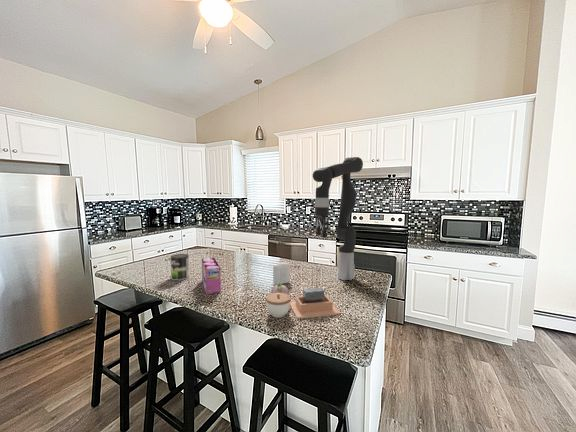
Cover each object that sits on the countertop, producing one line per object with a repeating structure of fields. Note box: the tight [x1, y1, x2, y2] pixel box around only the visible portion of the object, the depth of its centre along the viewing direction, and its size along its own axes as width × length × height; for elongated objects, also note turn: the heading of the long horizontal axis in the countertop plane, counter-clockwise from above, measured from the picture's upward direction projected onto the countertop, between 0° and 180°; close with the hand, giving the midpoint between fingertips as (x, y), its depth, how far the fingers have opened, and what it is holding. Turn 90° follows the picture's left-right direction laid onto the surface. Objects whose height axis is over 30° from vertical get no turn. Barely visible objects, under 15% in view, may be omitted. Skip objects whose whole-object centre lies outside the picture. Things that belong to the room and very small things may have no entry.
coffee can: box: [170, 253, 190, 281], centre depth 160 cm, size 10×10×14 cm
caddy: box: [290, 293, 342, 320], centre depth 119 cm, size 16×20×4 cm
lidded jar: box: [265, 293, 292, 319], centre depth 113 cm, size 11×11×9 cm
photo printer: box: [272, 262, 291, 286], centre depth 151 cm, size 10×4×12 cm, turn 123°
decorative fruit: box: [270, 283, 290, 296], centre depth 124 cm, size 9×8×10 cm
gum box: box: [201, 257, 222, 294], centre depth 147 cm, size 24×8×14 cm, turn 24°
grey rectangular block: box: [302, 287, 325, 304], centre depth 118 cm, size 9×4×8 cm, turn 102°
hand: (321, 236), depth 139 cm, fingers open, 8 cm apart
